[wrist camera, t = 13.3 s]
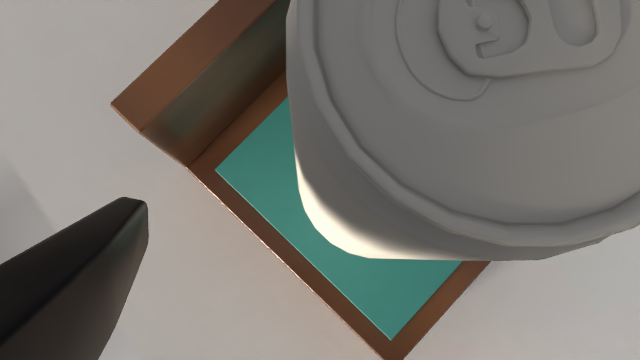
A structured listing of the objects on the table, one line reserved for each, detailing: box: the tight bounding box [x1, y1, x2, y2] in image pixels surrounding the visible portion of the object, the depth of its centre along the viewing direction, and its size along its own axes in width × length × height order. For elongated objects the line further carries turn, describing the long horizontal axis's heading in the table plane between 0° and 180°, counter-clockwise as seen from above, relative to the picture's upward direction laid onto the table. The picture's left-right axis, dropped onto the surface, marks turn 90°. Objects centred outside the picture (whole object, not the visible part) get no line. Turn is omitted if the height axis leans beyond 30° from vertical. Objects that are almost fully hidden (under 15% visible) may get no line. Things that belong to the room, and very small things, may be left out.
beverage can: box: [286, 0, 640, 261], centre depth 11 cm, size 5×5×12 cm
